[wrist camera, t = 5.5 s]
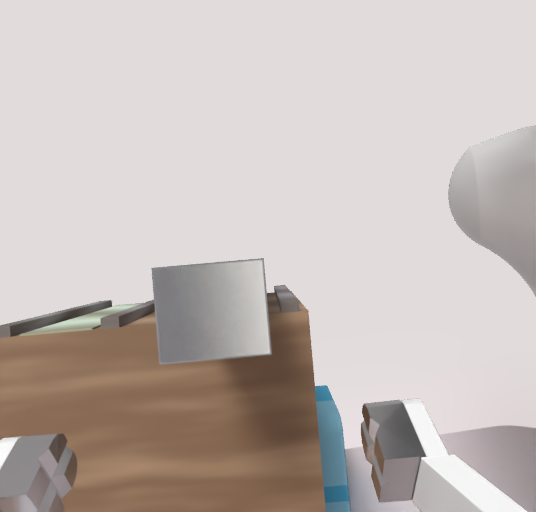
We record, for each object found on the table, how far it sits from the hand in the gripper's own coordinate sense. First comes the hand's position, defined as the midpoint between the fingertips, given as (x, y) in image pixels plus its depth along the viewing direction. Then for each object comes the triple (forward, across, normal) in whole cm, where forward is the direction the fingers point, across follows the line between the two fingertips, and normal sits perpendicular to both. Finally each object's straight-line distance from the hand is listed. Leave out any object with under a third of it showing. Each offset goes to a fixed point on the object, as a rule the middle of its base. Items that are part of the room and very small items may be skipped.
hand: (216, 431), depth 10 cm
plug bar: (+12, 0, +5) cm, 13 cm away
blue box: (+18, -6, +39) cm, 44 cm away
